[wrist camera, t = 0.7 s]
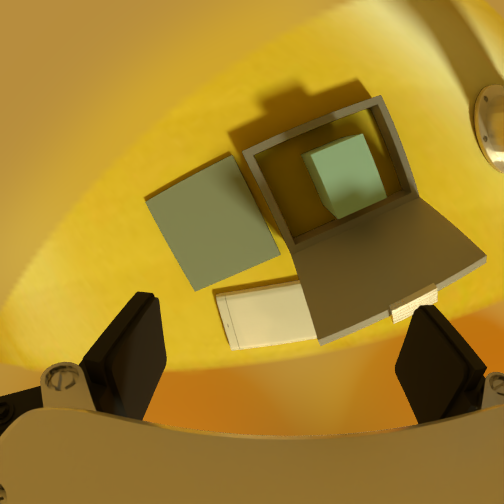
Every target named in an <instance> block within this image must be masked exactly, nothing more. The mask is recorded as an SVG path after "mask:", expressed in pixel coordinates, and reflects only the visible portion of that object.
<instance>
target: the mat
mask: <svg viewBox="0 0 504 504" xmlns="http://www.w3.org/2000/svg"><path fill="white" fill-rule="evenodd" d="M145 203H146V204H147V206H148V208H149V210H150V212H151V214H152V216H153V218H154V220H155V221H156V223H157V225H158V227H159V229H160V231H161V233H162V234H163V236H164V238H165V240H166V242H167V243H168V245H169V247H170V249H171V251H172V252H173V254H174V256H175V258H176V259H177V261H178V263H179V265H180V266H181V268H182V270H183V272H184V273H185V275H186V277H187V279H188V280H189V282H190V284H191V285H192V287H193V289H194V290H195V291H198V290H200V289H202V288H205V287H207V286H209V285H212V284H214V283H216V282H219V281H221V280H223V279H226V278H228V277H230V276H233V275H235V274H237V273H240V272H242V271H244V270H247V269H249V268H251V267H254V266H256V265H258V264H260V263H263V262H265V261H267V260H270V259H272V258H274V257H277V256H279V255H281V254H280V252H279V249H278V247H277V245H276V243H275V241H274V239H273V237H272V235H271V233H270V231H269V228H268V226H267V224H266V222H265V220H264V218H263V216H262V214H261V212H260V210H259V208H258V206H257V204H256V202H255V200H254V198H253V196H252V193H251V191H250V189H249V187H248V185H247V183H246V181H245V179H244V177H243V175H242V173H241V171H240V169H239V167H238V165H237V163H236V161H235V159H234V157H233V155H231V156H229V157H227V158H225V159H223V160H221V161H219V162H217V163H215V164H213V165H211V166H209V167H207V168H205V169H204V170H202V171H200V172H198V173H196V174H194V175H192V176H190V177H188V178H187V179H185V180H183V181H181V182H179V183H177V184H176V185H174V186H172V187H170V188H169V189H167V190H165V191H163V192H161V193H160V194H158V195H156V196H155V197H153V198H151V199H149V200H148V201H146V202H145Z"/></svg>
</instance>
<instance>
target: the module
mask: <svg viewBox="0 0 504 504" xmlns="http://www.w3.org/2000/svg"><path fill="white" fill-rule="evenodd" d="M301 156H302V158H303V161H304V163H305V165H306V167H307V169H308V172H309V174H310V176H311V178H312V181H313V183H314V185H315V187H316V190H317V192H318V194H319V197H320V199H321V201H322V204H323V206H324V207H325V208H327V209H328V210H329V211H330V212H331V213H332V214H333V215H334V216H335V217H336V218H337V219H340V218H343V217H345V216H347V215H349V214H352V213H354V212H356V211H358V210H360V209H363V208H365V207H367V206H369V205H372V204H374V203H376V202H378V201H381V200H383V199H385V198H387V195H386V192H385V189H384V187H383V184H382V181H381V178H380V176H379V173H378V170H377V168H376V165H375V162H374V160H373V157H372V155H371V152H370V150H369V147H368V145H367V143H366V140H365V138H364V136H363V134H358V135H352V136H347V137H342V138H339V139H337V140H334V141H332V142H330V143H327V144H325V145H322V146H320V147H318V148H315V149H313V150H310V151H308V152H306V153H304V154H301Z"/></svg>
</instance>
